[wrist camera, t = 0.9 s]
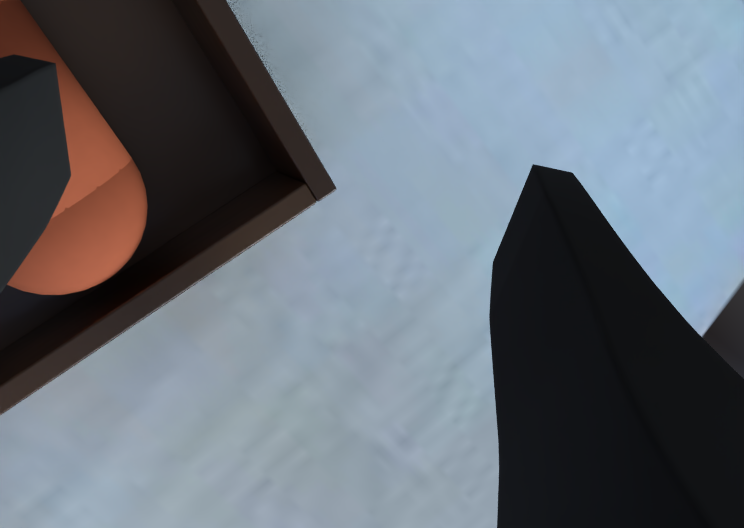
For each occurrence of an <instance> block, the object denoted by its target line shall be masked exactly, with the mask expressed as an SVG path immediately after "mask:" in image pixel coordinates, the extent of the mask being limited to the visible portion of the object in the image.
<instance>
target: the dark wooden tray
mask: <svg viewBox="0 0 744 528" xmlns="http://www.w3.org/2000/svg"><path fill="white" fill-rule="evenodd" d="M21 2H22V3H23V5H24V6H25V7H26V9H27V10H28V12H29V13H30V15H31V16H32V17H33V19H34V20H35V22H36V23H37V24H38V26H39V27H40V29H41V30H42V32H43V33H44V34H45V36H46V37H47V39H48V40H49V41H50V43H51V44H52V46H53V47H54V49H55V50H56V51H57V53H58V54H59V56H60V57H61V58H62V60H63V61H64V63H65V64H66V66H67V67H68V68H69V70H70V71H71V73H72V74H73V75H74V77H75V78H76V80H77V81H78V82H79V84H80V85H81V87H82V88H83V90H84V91H85V92H86V94H87V95H88V97H89V98H90V99H91V101H92V102H93V104H94V105H95V107H96V108H97V109H98V111H99V112H100V114H101V115H102V116H103V118H104V119H105V121H106V122H107V124H108V125H109V126H110V128H111V129H112V131H113V132H114V133H115V135H116V136H117V138H118V139H119V141H120V142H121V143H122V145H123V146H124V148H125V149H126V150H127V152H128V153H129V155H130V156H131V157H132V159H133V161H134V163H135V164H136V166H137V168H138V170H139V171H140V173H141V176H142V179H143V182H144V185H145V188H146V196H147V204H148V209H147V220H146V227H145V230H144V233H143V236H142V239H141V242H140V243H139V245H138V247H137V249H136V250H135V252H134V254H133V256H132V257H131V258H130V260H129V261H128V262H127V263H126V264H125V265H124V266H123V267H122V268H121V269H120V270H119V271H118V272H117V273H116V274H115V275H113V276H112V277H111V278H109V279H108V280H106V281H104V282H102V283H100V284H98V285H96V286H93V287H91V288H89V289H86V290H84V291H80V292H75V293H69V294H64V295H40V294H35V293H30V292H25V291H21V290H19V289H16V288H14V287H11V286H9V285H6V286H5V288H4V289H3V291H2V292H1V294H0V415H1V414H3V413H4V412H6V411H7V410H9V409H10V408H12V407H13V406H15V405H16V404H18V403H19V402H21V401H22V400H24V399H25V398H27V397H28V396H30V395H31V394H33V393H34V392H36V391H37V390H39V389H40V388H42V387H43V386H45V385H46V384H48V383H49V382H51V381H52V380H54V379H55V378H56V377H58V376H59V375H61V374H62V373H64V372H65V371H67V370H68V369H70V368H71V367H73V366H74V365H76V364H77V363H79V362H80V361H82V360H83V359H85V358H86V357H88V356H89V355H91V354H92V353H94V352H95V351H97V350H98V349H100V348H101V347H103V346H104V345H106V344H107V343H109V342H110V341H112V340H113V339H115V338H116V337H118V336H119V335H121V334H122V333H124V332H125V331H126V330H128V329H129V328H131V327H132V326H134V325H135V324H137V323H138V322H140V321H141V320H143V319H144V318H146V317H147V316H149V315H150V314H152V313H153V312H155V311H156V310H158V309H159V308H161V307H162V306H164V305H165V304H167V303H168V302H170V301H171V300H173V299H174V298H176V297H177V296H179V295H180V294H182V293H183V292H185V291H186V290H188V289H189V288H191V287H192V286H194V285H195V284H197V283H198V282H199V281H201V280H202V279H204V278H205V277H207V276H208V275H210V274H211V273H213V272H214V271H216V270H217V269H219V268H220V267H222V266H223V265H225V264H226V263H228V262H229V261H231V260H232V259H234V258H235V257H237V256H238V255H240V254H241V253H243V252H244V251H246V250H247V249H249V248H250V247H252V246H253V245H255V244H256V243H258V242H259V241H261V240H262V239H264V238H265V237H267V236H268V235H269V234H271V233H272V232H274V231H275V230H277V229H278V228H280V227H281V226H283V225H284V224H286V223H287V222H289V221H290V220H292V219H293V218H295V217H296V216H298V215H299V214H301V213H302V212H304V211H305V210H307V209H308V208H310V207H311V206H313V205H314V204H315V203H316V201H320V200H322V199H323V198H325V197H326V196H328V195H329V194H331V193H332V192H334V191H335V190H336V187H335V185H334V183H333V181H332V180H331V178H330V176H329V175H328V173H327V171H326V170H325V168H324V166H323V164H322V163H321V161H320V159H319V158H318V156H317V154H316V153H315V151H314V149H313V147H312V146H311V144H310V142H309V141H308V139H307V137H306V136H305V134H304V132H303V130H302V129H301V127H300V125H299V124H298V122H297V120H296V119H295V117H294V115H293V113H292V112H291V110H290V108H289V107H288V105H287V103H286V102H285V100H284V98H283V96H282V95H281V93H280V91H279V90H278V88H277V86H276V85H275V83H274V81H273V79H272V78H271V76H270V74H269V73H268V71H267V69H266V68H265V66H264V64H263V62H262V61H261V59H260V57H259V56H258V54H257V52H256V51H255V49H254V47H253V46H252V44H251V42H250V40H249V39H248V37H247V35H246V34H245V32H244V30H243V29H242V27H241V25H240V23H239V22H238V20H237V18H236V17H235V15H234V13H233V12H232V10H231V8H230V6H229V5H228V3H227V1H226V0H21Z"/></svg>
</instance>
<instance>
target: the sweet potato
mask: <svg viewBox="0 0 744 528" xmlns="http://www.w3.org/2000/svg"><path fill="white" fill-rule="evenodd" d="M13 54H15V55H20V56H25V57H30V58H34V59H39V60H44V61H48V62H53V63H56V69H57V76H58V83H59V91H60V98H61V105H62V112H63V119H64V126H65V133H66V141H67V148H68V155H69V162H70V169H71V177H70V180H69V182H68V184H67V186H66V188H65V190H64V193H63V195H62V197H61V199H60V201H59V203H58V205H57V207H56V209H55V211H54V213H53V215H52V217H51V219H50V221H49V223H48V225H47V227H46V229H45V230H44V232H43V233H42V235H41V236H40V238H39V239H38V241H37V242H36V243H35V245H34V246H33V248H32V249H31V251H30V252H29V254H28V255H27V257H26V258H25V259H24V261H23V262H22V264H21V265H20V267H19V268H18V270H17V271H16V272H15V274H14V275H13V277H12V278H11V279H10V281H9V282H8V284H7V285H9V286H11V287H14V288H16V289H19V290H21V291H25V292H30V293H35V294H40V295H64V294H69V293H75V292H80V291H84V290H86V289H89V288H91V287H93V286H96V285H98V284H100V283H102V282H104V281H106V280H108V279H109V278H111V277H112V276H113V275H115V274H116V273H117V272H118V271H119V270H120V269H121V268H122V267H123V266H124V265H125V264H126V263H127V262H128V261H129V260H130V258H131V257H132V256H133V254H134V252H135V250H136V249H137V247H138V245H139V243H140V242H141V239H142V236H143V233H144V230H145V227H146V220H147V209H148V204H147V196H146V188H145V185H144V182H143V179H142V176H141V173H140V171H139V170H138V168H137V166H136V164H135V163H134V161H133V159H132V157H131V156H130V155H129V153H128V152H127V150H126V149H125V148H124V146H123V145H122V143H121V142H120V141H119V139H118V138H117V136H116V135H115V133H114V132H113V131H112V129H111V128H110V126H109V125H108V124H107V122H106V121H105V119H104V118H103V116H102V115H101V114H100V112H99V111H98V109H97V108H96V107H95V105H94V104H93V102H92V101H91V99H90V98H89V97H88V95H87V94H86V92H85V91H84V90H83V88H82V87H81V85H80V84H79V82H78V81H77V80H76V78H75V77H74V75H73V74H72V73H71V71H70V70H69V68H68V67H67V66H66V64H65V63H64V61H63V60H62V58H61V57H60V56H59V54H58V53H57V51H56V50H55V49H54V47H53V46H52V44H51V43H50V41H49V40H48V39H47V37H46V36H45V34H44V33H43V32H42V30H41V29H40V27H39V26H38V24H37V23H36V22H35V20H34V19H33V17H32V16H31V15H30V13H29V12H28V10H27V9H26V7H25V6H24V5H23V3H22V2H21V0H0V58H2V57H5V56H9V55H13Z"/></svg>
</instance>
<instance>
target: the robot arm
mask: <svg viewBox="0 0 744 528" xmlns="http://www.w3.org/2000/svg"><path fill="white" fill-rule="evenodd" d="M70 177H71V169H70V162H69V155H68V148H67V141H66V133H65V126H64V119H63V112H62V105H61V98H60V91H59V83H58V76H57V69H56V63H53V62H48V61H44V60H39V59H34V58H30V57H25V56H20V55H15V54H13V55H9V56H5V57H2V58H0V294H1V292H2V291H3V289H4V288H5V286H6V285H7V284H8V282H9V281H10V279H11V278H12V277H13V275H14V274H15V272H16V271H17V270H18V268H19V267H20V265H21V264H22V262H23V261H24V259H25V258H26V257H27V255H28V254H29V252H30V251H31V249H32V248H33V246H34V245H35V243H36V242H37V241H38V239H39V238H40V236H41V235H42V233H43V232H44V230H45V229H46V227H47V225H48V223H49V221H50V219H51V217H52V215H53V213H54V211H55V209H56V207H57V205H58V203H59V201H60V199H61V197H62V195H63V193H64V190H65V188H66V186H67V184H68V182H69V180H70ZM490 334H491V348H492V362H493V375H494V388H495V401H496V414H497V427H498V441H499V491H498V521H497V528H744V379H743V378H742V377H741V376H740V375H739V374H738V373H737V372H736V371H735V370H734V369H733V368H732V367H731V366H730V365H729V364H728V363H727V362H726V361H725V360H724V359H723V358H722V357H721V356H720V355H719V354H718V353H717V352H716V351H715V350H714V349H713V348H712V347H711V346H710V345H709V344H708V343H707V342H706V341H705V340H704V339H703V338H702V337H701V336H700V335H699V334H698V333H697V332H696V331H695V330H694V329H693V328H692V326H691V325H690V324H689V323H688V322H687V321H686V320H685V319H684V318H683V317H682V315H681V314H680V313H679V312H678V311H677V310H676V308H675V307H674V306H673V305H672V304H671V302H670V301H669V300H668V299H667V298H666V297H665V295H664V294H663V293H662V292H661V291H660V290H659V288H658V287H657V286H656V285H655V284H654V282H653V281H652V280H651V278H650V277H649V276H648V275H647V273H646V272H645V271H644V270H643V268H642V267H641V266H640V265H639V263H638V262H637V261H636V259H635V258H634V257H633V255H632V254H631V253H630V251H629V250H628V249H627V247H626V246H625V245H624V243H623V242H622V241H621V239H620V238H619V236H618V235H617V234H616V232H615V231H614V230H613V228H612V227H611V225H610V224H609V223H608V221H607V220H606V218H605V217H604V216H603V214H602V213H601V211H600V210H599V208H598V207H597V206H596V204H595V203H594V201H593V200H592V199H591V197H590V196H589V194H588V193H587V191H586V190H585V189H584V187H583V186H582V185H581V183H580V182H579V181H578V179H577V178H576V177H575V176H574V174H573V173H571V172H566V171H562V170H557V169H552V168H548V167H543V166H538V165H534V164H533V166H532V168H531V171H530V173H529V175H528V178H527V180H526V183H525V185H524V188H523V190H522V193H521V195H520V197H519V200H518V202H517V205H516V207H515V210H514V212H513V215H512V217H511V219H510V222H509V224H508V227H507V229H506V232H505V234H504V236H503V239H502V241H501V244H500V246H499V249H498V251H497V254H496V256H495V258H494V261H493V269H492V282H491V297H490Z"/></svg>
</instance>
